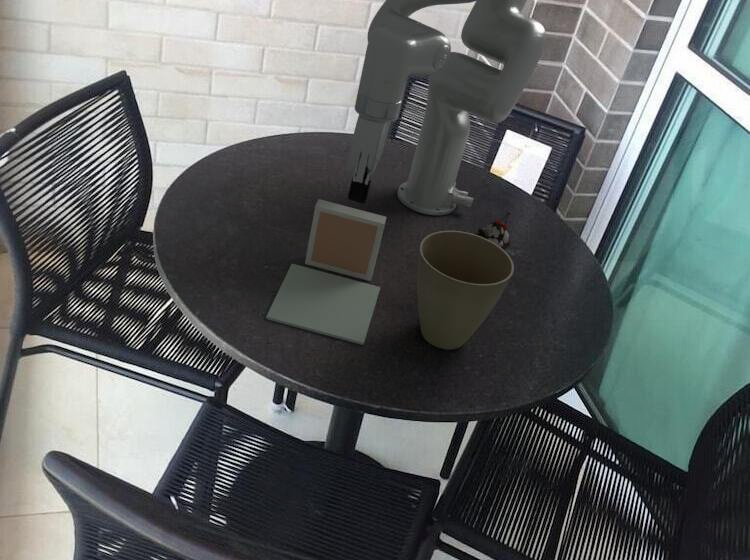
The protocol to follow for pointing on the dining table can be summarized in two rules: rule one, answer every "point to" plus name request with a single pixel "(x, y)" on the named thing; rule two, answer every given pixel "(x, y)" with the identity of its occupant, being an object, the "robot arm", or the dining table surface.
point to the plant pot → (458, 285)
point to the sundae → (496, 233)
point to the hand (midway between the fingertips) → (357, 199)
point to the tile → (344, 239)
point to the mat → (325, 304)
